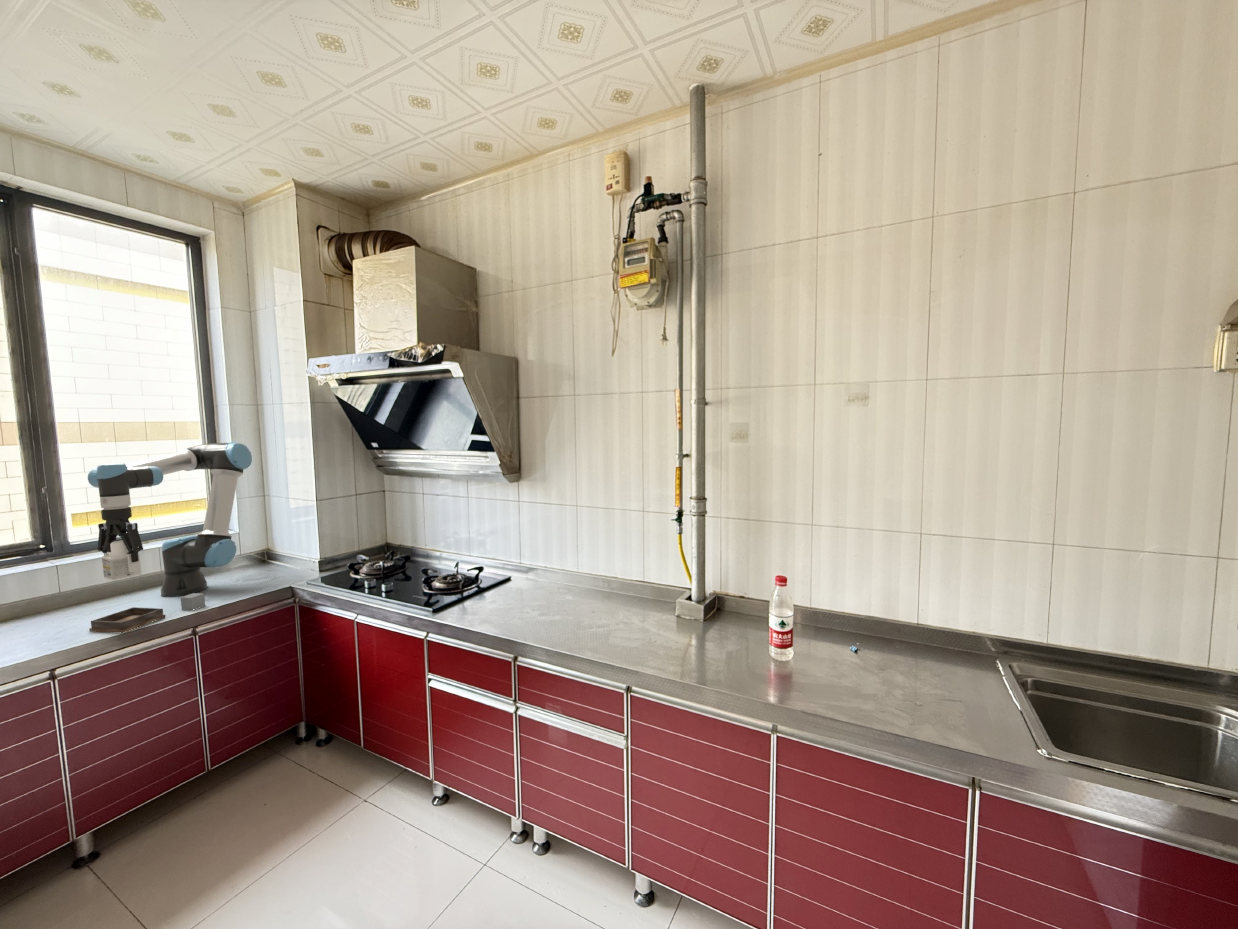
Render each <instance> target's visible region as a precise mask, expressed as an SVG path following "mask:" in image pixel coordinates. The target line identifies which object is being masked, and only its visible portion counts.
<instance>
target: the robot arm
mask: <svg viewBox="0 0 1238 929" xmlns="http://www.w3.org/2000/svg"><path fill="white" fill-rule="evenodd" d="M252 463H253V456H252V452H251V451H250V449H249V448H248V446H247V445H245V444H244V443H241V442H232V441H231V442H216V443H215V442H214V443H213V442H210V443H209V442H208V443H203V444H200V445H195V446H194V445H193V446H191V447H187V448H182V449H179V450H178V451H177V452H175V453H170V454H166V455H159V456H155V457H151V458H147V459H142V460H138V461H137V460H136V461H132V462H129V463H121V462H120V463H119V462H118V463H115V462H114V463H103V464H99V465H98V466H97V467H95V468H93V469H91V470H90V471H89V472H88V474H87V481H88V483H89V485H90V486H92V487H94V488H98V493H99V494H98V495H99V499H100V500H99V503H100V508H101V510H100V513H101V520H102V521H105V522H103V523H102V522H101V523H98V524H97V527H98V541H97V551H98V552H101V553H102V554H103V556H106V555H109V554H107V545H106V544H107V543H108V542H110V541H113V540H117V538H118V537H119V538H120V539H122V540H123V542H124V544H125V546H126V548H127V550H128V553H127V560H128V569H129V572H134V571H137V570H139V565H138V561H139V558H138V553H139V552H141V551H143V550H144V545H143V543H142V540H141V537H140V533H139V530H138V528H139V527H138V523H137V522H133V523H132V522H130V520H129V519H130V518H132V516H133V515H132V514H133V513H132V507H130V506H131V505H132V502H131V494H130V490H133V489H140V488H148V487H149V488H152V487H155V486H158V485H160V484H162V482H163V480H164V475H168V474H172V473H176V472H181V471H185V472H189V471H190V472H191V471H195V470H209V472H210V474H212V476H213V477H212V482H211V487H210V492H209V496H208V502H207V508H206V513H205V518H204V523H203V529H202V530H201V531H200V532H199V533H197V535H193V534H192V535H187V536H181V537H177V538H173V539H169V540H166V541H164V542H163V543H162V545H161V546H162V547H161V549H162V550H161V554H162V555H161V556H162V562H163V570H164V578H163V582H162V585H161V589H160V595H161V597H164V598H165V597H167V598H171V597H183V596H186V595H189V594H192V593H195V592H196V593H198V592H202V591H204V590H206V589H208V581H207V580H206V577H205V576H204V574H203V573H202V570H201V568H209V569H210V568H211V569H212V568H213V569H215V568H221V567H225V566H227V565H228V564H230V563H231V562H232V561H233V559H234V558H235V557H236V554H237V545H236V543H235V540H234V541H233V539H232V538H233V537H232V534H230V532H229V529H230V522H231V517H232V512H233V506H234V501H235V496H236V490H237V485H238V480H239V479H238V478H240V477H242V476H243V475H244V470H246V469H248V468H249V467H250V466H251V465H252Z"/></svg>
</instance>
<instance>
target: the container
mask: <svg viewBox="0 0 1238 929" xmlns="http://www.w3.org/2000/svg"><path fill="white" fill-rule="evenodd" d="M106 545H107V554H109V555H106V556H104V555H103V556H101V560H102V561H101V562H102V570H103V577H104V578H105V579H108V580H111V581H117V580H122V579H127V578H130V577H136V576H140V575H142V567H141V565H142V564H141V556H140V555H141V554H140V553H139V552H138V558H139V561H138V565H139V570H137V571H134V572H129V569H128V560H127V553H128V550H127V548H126V546H125V544H124V542H123V540H122V538H120V539H116V540H113V541H110V542H108V543H107V544H106Z"/></svg>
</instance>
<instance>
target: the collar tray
mask: <svg viewBox="0 0 1238 929" xmlns="http://www.w3.org/2000/svg"><path fill="white" fill-rule="evenodd" d="M163 610H164V609H163V608H154V607H135V606H132V607H129V608H127V609H124V610H120V611H118V612H114V613H112V614H108V615H105V616H101V617H99V618H96V619H92V620H90V626H91V627H89V632H93V633H94V632H98V633H110V632H121V633H120V634H124V633H123V632H125V631H127V632H130V631H132V630H131V629H133V630H135V629H134V628H136V629H138V628H140V626H141V627H143V625H144V626H146V625H145V624H147V623H149V624H151V623H150V622H152V621H155V620H158V621H160V620H163V619H165V617H166V614H164V611H163ZM162 618H163V619H162ZM159 619H160V620H159ZM155 622H156V621H155ZM152 623H153V622H152ZM147 625H148V624H147ZM137 627H138V628H137ZM129 630H130V631H129ZM125 633H126V632H125Z"/></svg>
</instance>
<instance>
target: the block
mask: <svg viewBox="0 0 1238 929" xmlns="http://www.w3.org/2000/svg"><path fill="white" fill-rule="evenodd" d="M179 598H180V607H181V611H191V610H193V609H195V610H197V609H196V608H198V609H200V608H199V607H201V608H203V607H202V606H204V607H205V606H206V598H205V593H201V592H200V593H198V592H196V593H192V594H187V595H182V596H179ZM193 611H194V610H193Z"/></svg>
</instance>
